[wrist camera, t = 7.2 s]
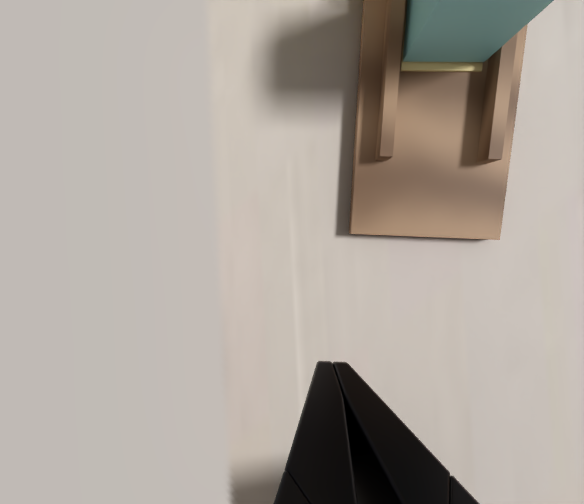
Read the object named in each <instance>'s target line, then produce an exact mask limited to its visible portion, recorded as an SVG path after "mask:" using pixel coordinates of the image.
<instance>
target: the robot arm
mask: <svg viewBox="0 0 584 504" xmlns="http://www.w3.org/2000/svg"><path fill="white" fill-rule="evenodd" d="M274 504H479V503H478V502H477V501H476V500H475V499H474V498H473V497H472V496H471V494H470V493H469V492H468V491H467V490H466V489H465V488H464V487H463V486H462V485H461V484H460V483H459V482H458V481H457V480H456V478H455V477H454V476H450V473H449V471H448V470H447V469H446V468H445V467H444V466H443V465H442V464H441V463H440V461H439V460H438V459H437V458H436V457H435V456H434V455H433V454H432V453H431V452H430V451H429V450H428V449H427V448H426V446H425V445H424V444H423V443H422V442H421V441H420V440H419V439H418V438H417V437H416V436H415V435H414V434H413V433H412V432H411V430H410V429H409V428H408V427H407V426H406V425H405V424H404V423H403V422H402V421H401V420H400V419H399V418H398V417H397V415H396V414H395V413H394V412H393V411H392V410H391V409H390V408H389V407H388V406H387V405H386V404H385V403H384V402H383V400H382V399H381V398H380V397H379V396H378V395H377V394H376V393H375V392H374V391H373V390H372V389H371V388H370V387H369V385H368V384H367V383H366V382H365V381H364V380H363V379H362V378H361V377H360V376H359V375H358V374H357V373H356V372H355V370H354V369H353V368H352V367H351V366H350V365H349V364H348V363H346V362H333V363H331V362H330V361H318V362H317V364H316V368H315V371H314V374H313V378H312V381H311V384H310V388H309V391H308V394H307V397H306V401H305V404H304V407H303V411H302V414H301V417H300V421H299V424H298V427H297V430H296V434H295V437H294V440H293V444H292V447H291V450H290V453H289V457H288V460H287V463H286V467H285V472H284V473H283V476H282V479H281V482H280V486H279V489H278V492H277V495H276V498H275V501H274Z"/></svg>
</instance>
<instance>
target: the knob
mask: <svg viewBox="0 0 584 504" xmlns="http://www.w3.org/2000/svg"><path fill="white" fill-rule="evenodd" d="M552 1H553V0H407V13H406V25H405V38H404V50H403V62H485V61H486V60H487V59H488V58H489V57H491V56H492V55H493V54H494V53H495V52H496V51H497V50H498V49H500V48H501V47H502V46H503V45H504V44H505V43H506V42H507V41H509V40H510V39H511V38H512V37H513V36H514V35H515V34H516V33H518V32H519V31H520V30H521V29H522V28H523V27H524V26H525V25H526V24H528V23H529V22H530V21H531V20H532V19H533V18H534V17H535V16H537V15H538V14H539V13H540V12H541V11H542V10H543V9H544V8H546V7H547V6H548V5H549V4H550V3H551V2H552Z"/></svg>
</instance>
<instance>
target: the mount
mask: <svg viewBox="0 0 584 504" xmlns="http://www.w3.org/2000/svg"><path fill="white" fill-rule="evenodd" d="M406 13H407V0H363V14H362V30H361V46H360V62H359V78H358V94H357V110H356V126H355V142H354V158H353V174H352V190H351V206H350V222H349V233H350V234H369V235H393V236H418V237H443V238H468V239H493V240H500V233H501V225H502V218H503V210H504V202H505V194H506V187H507V179H508V171H509V163H510V156H511V148H512V140H513V133H514V125H515V117H516V109H517V102H518V94H519V86H520V78H521V71H522V63H523V55H524V47H525V40H526V32H527V24H526V25H525V26H524V27H523V28H522V29H521V30H520V31H519V32H518V33H516V34H515V35H514V36H513V37H512V38H511V39H510V40H509V41H507V42H506V43H505V44H504V45H503V46H502V47H501V48H500V49H498V50H497V51H496V52H495V53H494V54H493V55H492V56H491V57H489V58H488V59H487V60H486V61H485V62H403V50H404V38H405V25H406Z"/></svg>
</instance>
